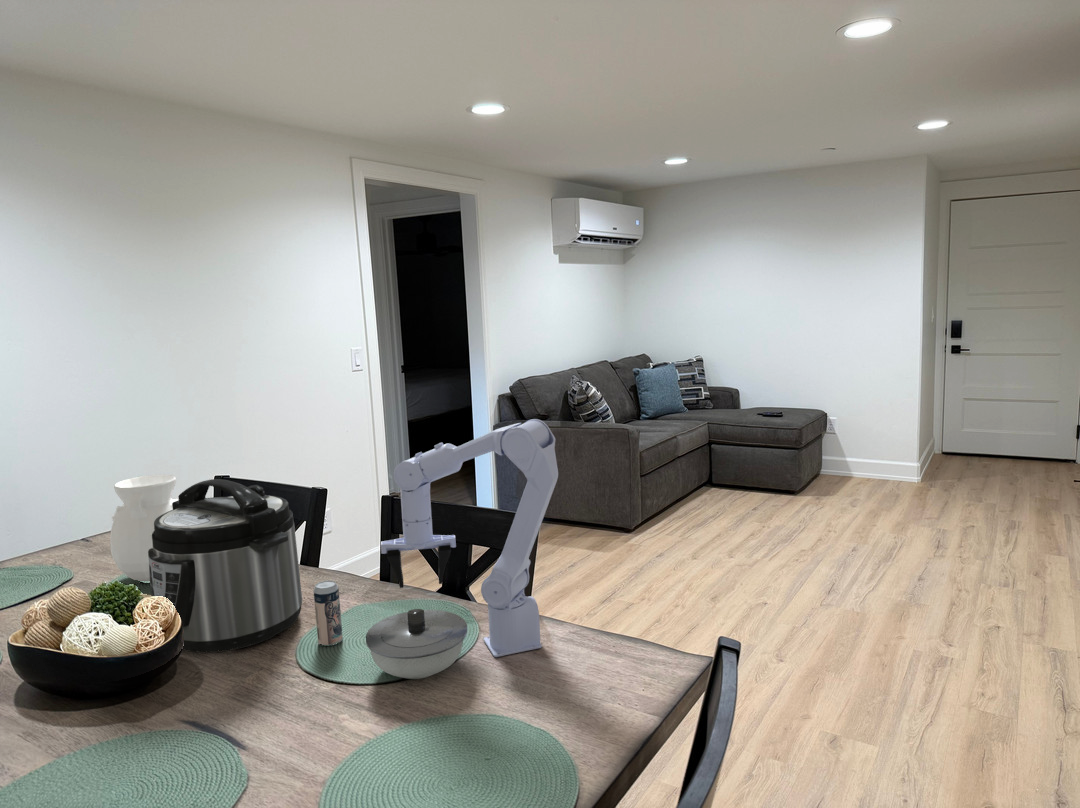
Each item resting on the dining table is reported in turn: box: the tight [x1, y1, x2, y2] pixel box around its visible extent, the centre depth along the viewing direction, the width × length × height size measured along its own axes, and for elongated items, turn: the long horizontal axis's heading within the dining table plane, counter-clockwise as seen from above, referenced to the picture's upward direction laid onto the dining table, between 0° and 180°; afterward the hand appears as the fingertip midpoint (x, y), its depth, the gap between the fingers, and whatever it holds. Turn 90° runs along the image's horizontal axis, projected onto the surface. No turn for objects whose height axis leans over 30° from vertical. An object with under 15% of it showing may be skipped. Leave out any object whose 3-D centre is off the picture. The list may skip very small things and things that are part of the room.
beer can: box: [313, 580, 344, 646], centre depth 147 cm, size 5×5×12 cm
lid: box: [365, 608, 468, 659], centre depth 133 cm, size 18×18×4 cm
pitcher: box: [109, 474, 179, 581], centre depth 185 cm, size 19×18×25 cm
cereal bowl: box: [369, 640, 464, 680], centre depth 135 cm, size 17×17×7 cm
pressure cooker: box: [148, 478, 303, 654], centre depth 154 cm, size 30×28×32 cm
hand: (421, 584), depth 148 cm, fingers open, 7 cm apart
